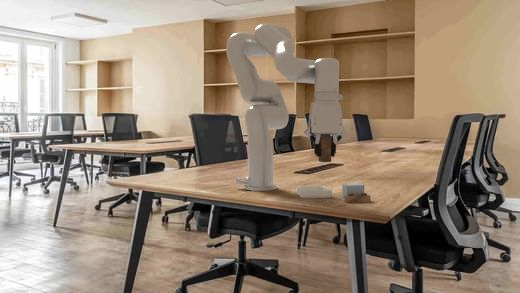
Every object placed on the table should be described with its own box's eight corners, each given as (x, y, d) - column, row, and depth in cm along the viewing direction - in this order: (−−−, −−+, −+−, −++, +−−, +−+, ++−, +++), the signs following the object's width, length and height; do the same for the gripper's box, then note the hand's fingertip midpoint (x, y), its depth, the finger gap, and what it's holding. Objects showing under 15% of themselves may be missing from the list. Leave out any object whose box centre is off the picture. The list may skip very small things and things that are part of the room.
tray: (303, 198, 141) (303, 191, 141) (296, 193, 150) (296, 186, 150) (331, 197, 142) (332, 190, 142) (323, 192, 152) (323, 185, 152)
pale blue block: (346, 201, 138) (346, 185, 137) (342, 198, 142) (342, 183, 141) (364, 200, 139) (364, 185, 138) (359, 198, 142) (359, 183, 142)
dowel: (320, 162, 134) (321, 136, 133) (317, 160, 138) (317, 135, 137) (332, 162, 134) (333, 136, 133) (328, 160, 138) (329, 135, 137)
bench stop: (346, 202, 134) (346, 194, 134) (344, 201, 136) (344, 193, 136) (370, 201, 136) (370, 193, 135) (367, 200, 138) (368, 192, 137)
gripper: (347, 99, 139) (346, 154, 141) (297, 98, 137) (296, 155, 138) (356, 98, 132) (354, 157, 133) (303, 97, 129) (302, 157, 131)
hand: (324, 155), depth 136 cm, fingers closed on dowel, 4 cm apart
